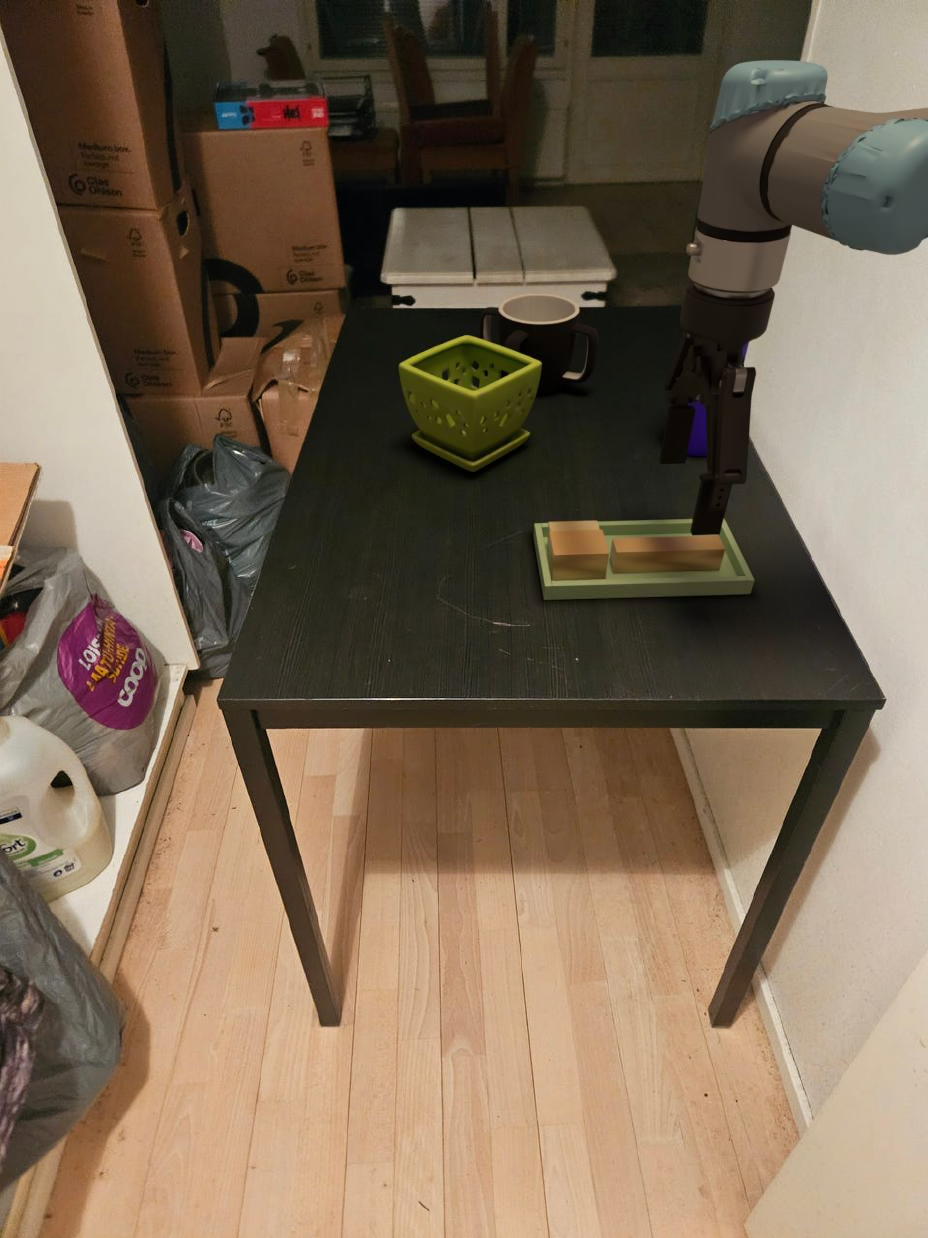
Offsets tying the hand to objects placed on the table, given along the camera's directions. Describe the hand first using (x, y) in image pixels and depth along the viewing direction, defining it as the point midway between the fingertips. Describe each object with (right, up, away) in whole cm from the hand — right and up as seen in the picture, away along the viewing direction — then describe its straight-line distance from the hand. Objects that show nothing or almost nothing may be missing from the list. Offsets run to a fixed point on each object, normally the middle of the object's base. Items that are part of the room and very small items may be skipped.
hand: (687, 495), depth 80 cm
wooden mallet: (-4, -6, +7) cm, 11 cm away
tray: (-4, -7, +8) cm, 11 cm away
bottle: (+9, +12, +28) cm, 32 cm away
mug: (-12, +25, +42) cm, 50 cm away
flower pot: (-22, +11, +27) cm, 37 cm away
